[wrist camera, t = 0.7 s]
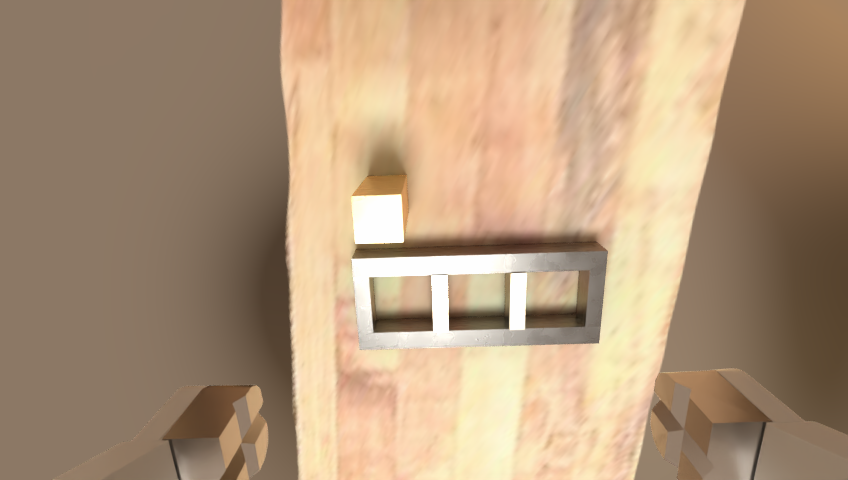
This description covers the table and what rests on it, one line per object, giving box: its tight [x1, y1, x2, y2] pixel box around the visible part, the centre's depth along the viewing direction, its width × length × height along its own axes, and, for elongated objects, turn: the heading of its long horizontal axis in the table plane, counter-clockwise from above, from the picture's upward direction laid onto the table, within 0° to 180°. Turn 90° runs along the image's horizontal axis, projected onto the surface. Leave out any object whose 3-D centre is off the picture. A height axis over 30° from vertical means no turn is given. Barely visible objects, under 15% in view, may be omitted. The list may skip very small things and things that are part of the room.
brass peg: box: [351, 175, 409, 244], centre depth 40 cm, size 4×4×10 cm
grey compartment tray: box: [352, 242, 608, 350], centre depth 47 cm, size 10×26×3 cm, turn 92°
